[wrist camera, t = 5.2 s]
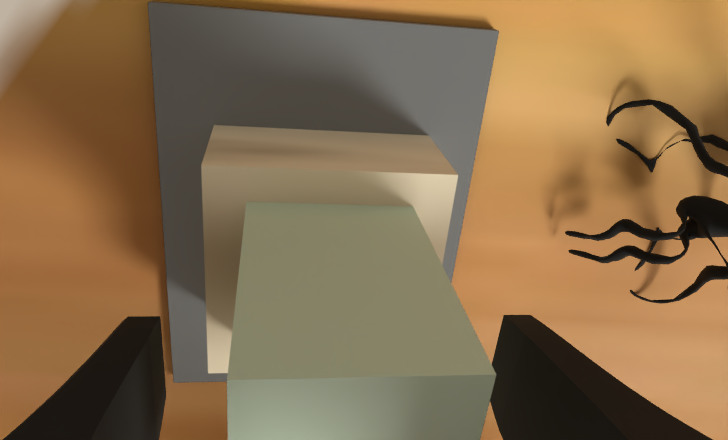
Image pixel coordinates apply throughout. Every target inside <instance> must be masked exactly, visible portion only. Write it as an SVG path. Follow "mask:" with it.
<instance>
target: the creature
mask: <svg viewBox="0 0 728 440" xmlns="http://www.w3.org/2000/svg"><path fill="white" fill-rule="evenodd" d="M646 105H653V106H655V107H656V108H657V109H659V110H660V111H661V112H663V113H664V114H666V115H667V116H668V117H670V118H671V119H672V120H674V121H675V122H677V123H678V124H679V125H681V126H682V127H683V128H685V129H686V131H687V133H688V135H689V137H690V139H691V140H690V139H683V140H681V141H688V142H692V144H693V147H694V150H695V152H696V154H697V156H698V157H699V159H700V160H701V162H702V163H703V165H704V166H705V168H707V169H708V170H709V171H711V172H713V173H717V174H721V175H723V176H726V177H728V166H726V165H724V164H722V163H719V162H717V161H715V160H714V159H713V158H712V157H710V155H709V154H708V152H707V151H706V149H705V147H704V144H703V142H705V143H711V144H712V145H714V146H716V147H718V148H721V149H724V150H726V151H728V142H727V141H725V140H724V139H722V138H719V137H717V136H715V135H708V136H702V137H700V136H699V132H698V129H697V126H696V125H694V124H693V123H692V122H691V121H690V120H688V119H687V118H686V117H685V116H684V115H682V114H681V113H680V112H679V111H678V110H676V109H675V108H674V107H673V106H671V105H669V104H666V103H663V102H661V101H656V100H649V99H648V100H639V101H631V102H628V103H625V104H623V105H621V106H619V107H617V108H616V109H615V110H614V111H613V112H611V113H610V115H609V116H608V117H607V120H606V123H607V125H608V126H609V124H610V123H611V121H612V119H613V117H614V116H615V115H616V114H617V113H619V112H620V111H621V110H623V109H624V108H630V107H638V106H646ZM616 140H617V142H618V143H619V144H621V145H622V146H624V147H626V148H627V149H629V150H631V151H632V152H634V153H636V154H637V155H638V156H639V157H640V158H641V159H642V160H643V161H644V162H645V163H646V165H647V166H648V167H649V170H650V171H651V172H653V169H654V167H655V164H656V160H657V159H658V158H659V157H660V156H661V154H662V153H663V152H662V153H661V154H660V155H659V156H658V157H657V158H655V159H653V160H649V159H647V158H646V157H645V156H644V155H642V154H641V153H640V152H639V151H637V150H636V149H635V148H634V147H632V146H631V145H630V144H628V143H626V142H624V141H622V140H620V139H616ZM679 142H680V141H679ZM677 143H678V142H677ZM674 144H676V143H674ZM674 144H672V145H670V146H669V147H671V146H673V145H674ZM669 147H667V148H669ZM667 148H666V149H667ZM666 149H665V150H666ZM676 212H677V214H678V216H679V217H680V218H681V221H682V223H683V224H681V226H680V227H679V228H678V231H677V232H670V233H662V231H661V230H659V228H657V231H654V230H650V229H646V228H643V227H641V226H640V225H638V224H637V223H635V222H633V221H632V220H629V219H622V220H620V221H618V222H617V223H615V224H614V225H613V226H612V227H611V228H610V229H609V230H607V231H605V232H603V233H601V234H597V235H587V234H584V233H579V232H575V231H566V232H565V234H566V235H569V236H573V237H579V238H584V239H592V240H597V241H599V240H605V239H610V238H612V237H614V236H615V235H617V234H618V233H620V232H630V233H632V234H634V235H636V236H638V237H640V238H644V239H648V240H651V241H653V243H652V246H651V248H650V250H649V252H645V251H643V250H641V249H639V248H637V247H635V246H624V247H621V248H619V249H617V250H616V251H614V252H613V253H611V254H610V255H608V256H605V257H599V256H595V255H592V254H589V253H587V252H583V251H578V250H569V253H571V254H574V255H577V256H581V257H584V258H588V259H592V260H595V261H598V262H601V263H609V262H612V261H618V260H621V259H623V258H625V257H627V256H629V255H630V256H633V257H635V258H638V259H641V260H642V261H641V262H640V263H639V264H638V266H637V267H636V268H635V271H636V270H638V269H639V268H640V267H641V266H642V265H644V263H645V262H649V263H652V264H670V263H672V262H674V261H676V260H678V259H680V258H681V257H683V256H684V255H685V253H686V252H687V250H688V247H689V240H691V239H695V238H708V239H710V240H711V242H712V243H713V244H714V246H715V247H716V249H717V250H718V252H719V253H720V251H719V249H718V247H717V245H716V244H715V242H714V241H713V239H712V238H711V237H728V204H726V203H724V202H722V201H719V200H716V199H713V198H709V197H705V196H690V197H687V198H684V199H683V200H681V201H680V202H679V204H678V206H677V208H676ZM687 217H689V219H688V220H687ZM678 235H679V236H680V238H681V239H678V238H674V237H676V236H678ZM689 238H690V239H689ZM668 239H676V240H682V243H683V245H684V248H685V250H684V251H683V252H682V253H681V254H680V255H677V256H673V257H668V256H663V255H658V254H653V253H651V251H652V250H653V248H654V246H655V244H656V242H657V241H659V240H668ZM720 255H721V253H720ZM721 257H722V258H723V260H724V262H725V263H726V266H727V267H726V266H713V265H711V266H706V267H705V268H704V269H703V270H702V271H701V273H700V274H699V276H698V277H697V279H696V281H695V282H694V283H693V284H692V285H691V286H690V287H688V288H687V289H686V290H684V291H683V292H682V293H681V294H679V295H678V296H677V297H676V298H674V299H669V300H648V299H646V298H643V297H641V296H638V295H636V294H635V293H634V292H633V291H632V290H630V292H631V293H632V294H633V295H634V296H636V297H638V298H640V299H642V300H645V301H649V302H654V303H669V302H674V301H679V300H681V299H683V298H685V297H687V296H689V295H691V294H693V293H695V292H696V291H698V290H699V289H700V288H701V287H702V286H703V285H704V284H705V283H706V282H708V281H710V280H714V279H728V262H727V261H726V260H725V258H724V257H723V256H722V255H721Z"/></svg>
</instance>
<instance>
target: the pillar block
mask: <svg viewBox="0 0 728 440" xmlns="http://www.w3.org/2000/svg"><path fill="white" fill-rule="evenodd" d="M495 378H496V373H495V371H494V369H493V367H492V365H491V363H490V360H489V358H488V356H487V354H486V352H485V350H484V348H483V346H482V344H481V342H480V340H479V338H478V336H477V334H476V332H475V330H474V328H473V326H472V324H471V322H470V320H469V318H468V316H467V314H466V312H465V310H464V308H463V306H462V304H461V302H460V300H459V298H458V296H457V294H456V292H455V290H454V288H453V286H452V284H451V282H450V280H449V278H448V276H447V274H446V272H445V270H444V268H443V266H442V264H441V262H440V260H439V258H438V256H437V254H436V252H435V250H434V248H433V246H432V244H431V241H430V239H429V237H428V235H427V233H426V231H425V229H424V227H423V225H422V223H421V221H420V219H419V217H418V215H417V213H416V211H415V209H414V207H413V206H384V205H348V204H313V203H277V202H246V210H245V219H244V228H243V237H242V247H241V256H240V265H239V274H238V283H237V292H236V302H235V311H234V320H233V329H232V338H231V348H230V357H229V366H228V375H227V420H228V440H480V438H481V434H482V430H483V426H484V422H485V418H486V414H487V410H488V406H489V402H490V398H491V394H492V390H493V386H494V382H495Z"/></svg>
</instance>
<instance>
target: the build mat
mask: <svg viewBox="0 0 728 440" xmlns="http://www.w3.org/2000/svg"><path fill="white" fill-rule="evenodd" d="M148 12H149V27H150V41H151V56H152V71H153V86H154V100H155V115H156V130H157V145H158V159H159V174H160V189H161V204H162V218H163V233H164V248H165V263H166V277H167V292H168V307H169V322H170V336H171V351H172V366H173V381H174V383H180V382H225V381H227V375H228V373H208V355H207V324H206V294H205V264H204V234H203V204H202V174H201V164H202V161H203V158H204V155H205V152H206V149H207V146H208V142H209V139H210V136H211V133H212V130H213V127H214V125H224V126H244V127H265V128H285V129H306V130H326V131H347V132H367V133H388V134H408V135H429V136H430V138H431V139H432V140H433V142H434V143H435V144H436V146H437V147H438V148H439V150H440V151H441V152H442V154H443V155H444V156H445V158H446V159H447V160H448V162H449V163H450V164H451V166H452V167H453V169H454V170H455V171H456V173H457V174H458V180H457V185H456V191H455V196H454V202H453V208H452V213H451V219H450V224H449V230H448V236H447V241H446V247H445V252H444V258H443V264H442V266H443V268H444V270H445V272H446V274H447V276H448V278H449V280H450V282H452V276H453V271H454V266H455V261H456V255H457V250H458V245H459V239H460V234H461V229H462V224H463V218H464V213H465V208H466V203H467V197H468V192H469V187H470V181H471V176H472V171H473V166H474V160H475V155H476V150H477V144H478V139H479V134H480V129H481V123H482V118H483V113H484V108H485V102H486V97H487V92H488V86H489V81H490V76H491V71H492V65H493V60H494V55H495V49H496V44H497V39H498V34H499V31H498V30H495V29H484V28H472V27H460V26H448V25H435V24H423V23H411V22H399V21H386V20H374V19H362V18H350V17H337V16H325V15H313V14H301V13H288V12H276V11H264V10H252V9H239V8H227V7H215V6H203V5H190V4H178V3H166V2H154V1H150V2H148Z"/></svg>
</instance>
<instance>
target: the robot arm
mask: <svg viewBox="0 0 728 440" xmlns="http://www.w3.org/2000/svg"><path fill="white" fill-rule="evenodd" d="M492 367H493V369H494V371H495V373H496V378H495V382H494V386H493V390H492V394H491V398H490V402H491V405H492V409H493V412H494V415H495V418H496V422H497V425H498V428H499V431H500V433H501V435H502V438H503V440H713V439H711V438H709V437H707V436H705V435H704V434H702V433H700V432H699V431H697V430H695V429H693V428H692V427H690V426H688V425H687V424H685V423H683V422H682V421H680V420H678V419H676V418H675V417H673V416H671V415H670V414H668V413H667V412H665V411H663V410H662V409H660V408H659V407H657V406H656V405H654V404H653V403H651V402H650V401H648V400H647V399H645V398H644V397H642V396H641V395H639V394H638V393H636V392H635V391H633V390H632V389H630V388H629V387H628V386H626V385H625V384H623V383H622V382H620V381H619V380H618V379H616V378H615V377H613V376H612V375H611V374H609V373H608V372H607V371H605V370H604V369H602V368H601V367H600V366H598V365H597V364H596V363H594V362H593V361H592V360H590V359H589V358H588V357H586V356H585V355H584V354H582V353H581V352H580V351H579V350H577V349H576V348H575V347H573V346H572V345H571V344H569V343H568V342H567V341H565V340H564V339H563V338H562V337H560V336H559V335H558V334H556V333H555V332H554V331H552V330H551V329H550V328H548V327H547V326H546V325H544V324H543V323H541V322H540V321H539V320H537V319H536V318H534V317H533V316H531V315H504V317H503V321H502V325H501V329H500V333H499V337H498V341H497V345H496V350H495V354H494V358H493V362H492ZM165 400H166V387H165V374H164V360H163V347H162V334H161V321H160V317H127V318H126V319H125V320H124V321H122V322H121V324H120V325H119V326H118V327H117V328H116V329H115V330H114V331H113V332H112V334H111V335H110V336H109V337H108V338H107V339H106V340H105V341H104V342H103V344H102V345H101V346H100V347H99V348H98V349H97V350H96V351H95V352H94V353H93V354H92V355H91V357H90V358H89V359H88V360H87V361H86V362H85V363H84V364H83V365H82V366H81V367H80V368H79V369H78V370H77V371H76V372H75V373H74V374H73V375H72V376H71V377H70V378H69V379H68V380H67V381H66V382H65V383H64V384H63V385H62V386H61V387H60V388H59V389H58V390H57V391H56V392H55V393H54V394H53V395H52V396H51V397H50V398H49V399H48V400H47V401H45V402H44V403H43V404H42V405H41V406H40V407H39V408H38V409H37V410H36V411H35V412H34V413H32V414H31V415H30V416H29V417H28V418H27V419H26V420H25V421H24V422H23V423H22V424H20V425H19V426H18V427H17V428H16V429H15V430H13V431H12V432H11V433H10V434H9V435H8V436H6V437H5V438H4V439H3V440H159V436H160V430H161V424H162V418H163V412H164V406H165Z"/></svg>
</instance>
